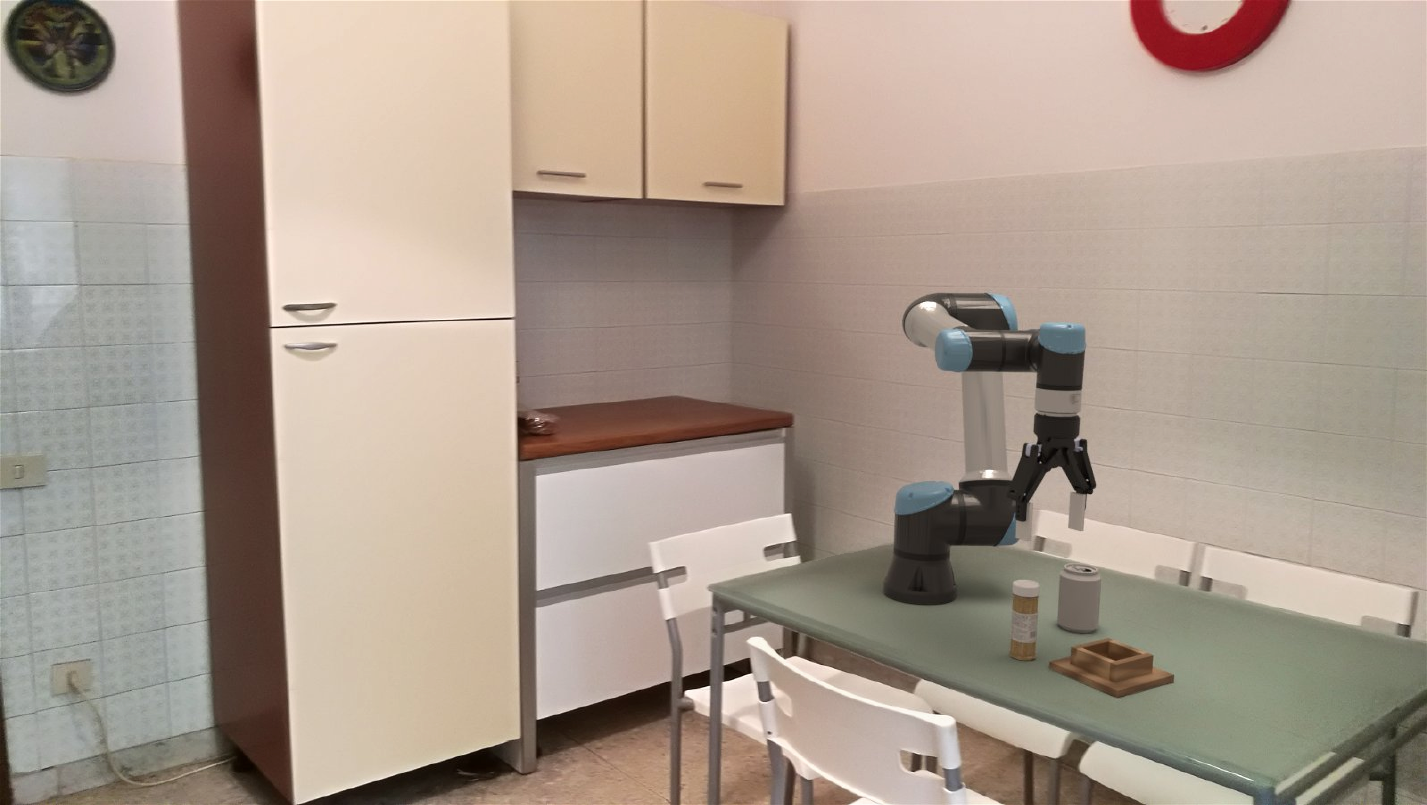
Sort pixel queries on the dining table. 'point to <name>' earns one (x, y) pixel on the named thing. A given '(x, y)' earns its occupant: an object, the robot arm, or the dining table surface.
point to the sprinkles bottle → (1024, 619)
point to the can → (1079, 598)
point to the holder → (1112, 667)
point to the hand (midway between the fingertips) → (1049, 534)
